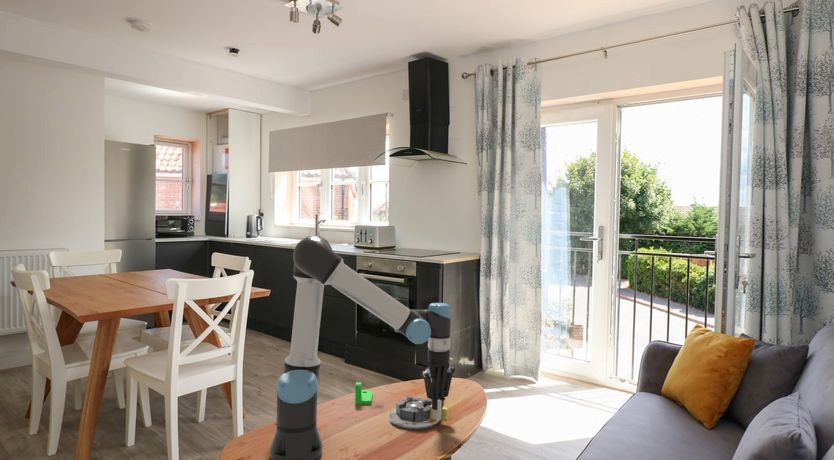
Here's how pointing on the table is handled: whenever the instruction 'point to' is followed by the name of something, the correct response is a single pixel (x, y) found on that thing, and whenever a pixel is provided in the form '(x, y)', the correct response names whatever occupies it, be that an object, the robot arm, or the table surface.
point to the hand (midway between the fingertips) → (437, 418)
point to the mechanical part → (362, 395)
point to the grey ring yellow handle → (419, 410)
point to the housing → (412, 424)
